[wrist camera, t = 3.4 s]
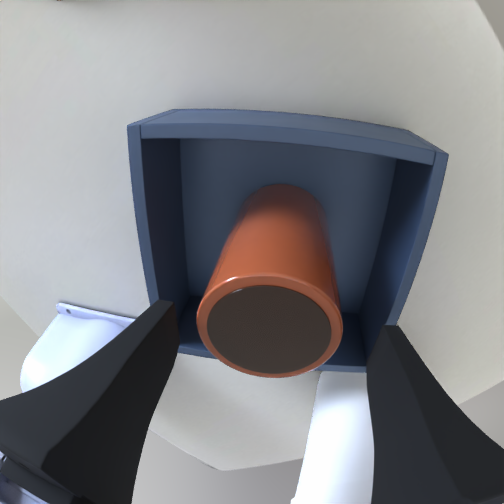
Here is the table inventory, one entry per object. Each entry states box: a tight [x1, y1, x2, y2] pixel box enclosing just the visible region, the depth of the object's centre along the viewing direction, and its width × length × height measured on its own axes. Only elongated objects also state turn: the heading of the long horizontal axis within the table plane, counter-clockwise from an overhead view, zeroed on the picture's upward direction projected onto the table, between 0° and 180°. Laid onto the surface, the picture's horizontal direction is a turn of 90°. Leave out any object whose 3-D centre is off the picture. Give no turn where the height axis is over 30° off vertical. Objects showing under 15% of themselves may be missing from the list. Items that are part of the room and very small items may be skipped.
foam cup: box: [291, 371, 374, 504], centre depth 18 cm, size 10×9×13 cm
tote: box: [127, 109, 449, 373], centre depth 16 cm, size 12×12×5 cm
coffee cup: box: [196, 184, 343, 378], centre depth 14 cm, size 5×5×8 cm
